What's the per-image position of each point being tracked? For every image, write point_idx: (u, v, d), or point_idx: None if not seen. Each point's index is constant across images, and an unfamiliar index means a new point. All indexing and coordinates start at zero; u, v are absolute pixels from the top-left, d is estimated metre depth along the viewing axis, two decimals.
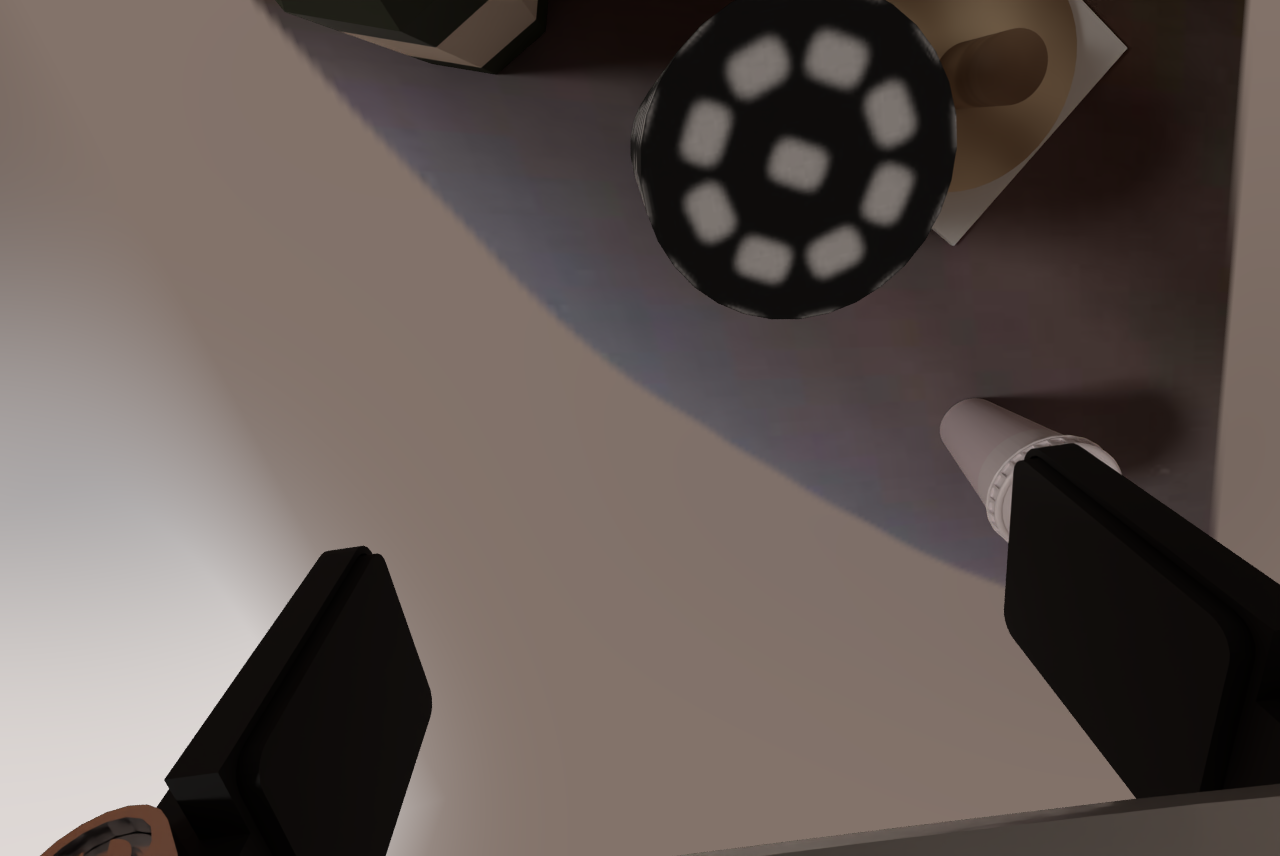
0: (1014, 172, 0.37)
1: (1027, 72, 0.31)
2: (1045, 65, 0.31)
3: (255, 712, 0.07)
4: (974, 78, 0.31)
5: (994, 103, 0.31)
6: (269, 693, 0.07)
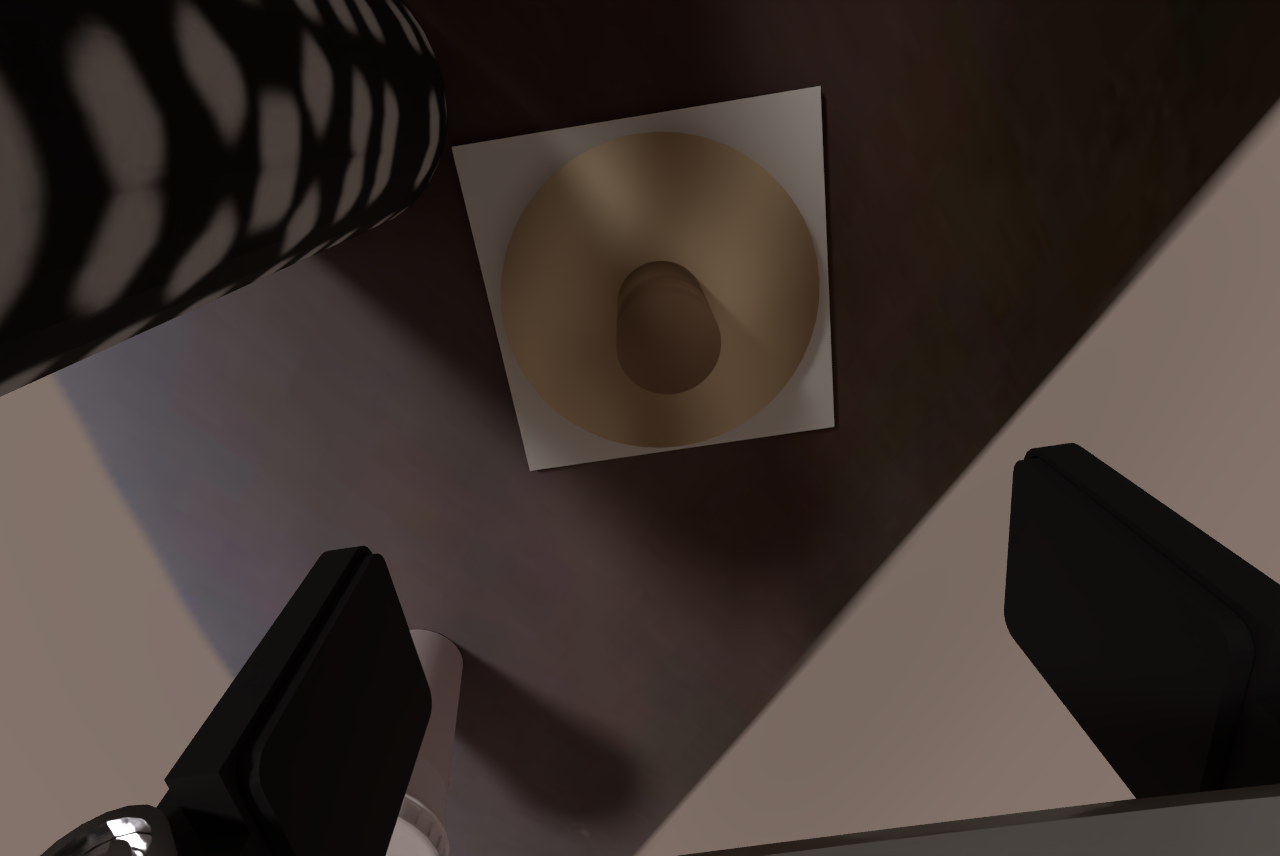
0: (645, 450, 0.27)
1: (679, 365, 0.20)
2: (705, 376, 0.21)
3: (257, 712, 0.07)
4: (622, 316, 0.20)
5: None
6: (269, 693, 0.07)
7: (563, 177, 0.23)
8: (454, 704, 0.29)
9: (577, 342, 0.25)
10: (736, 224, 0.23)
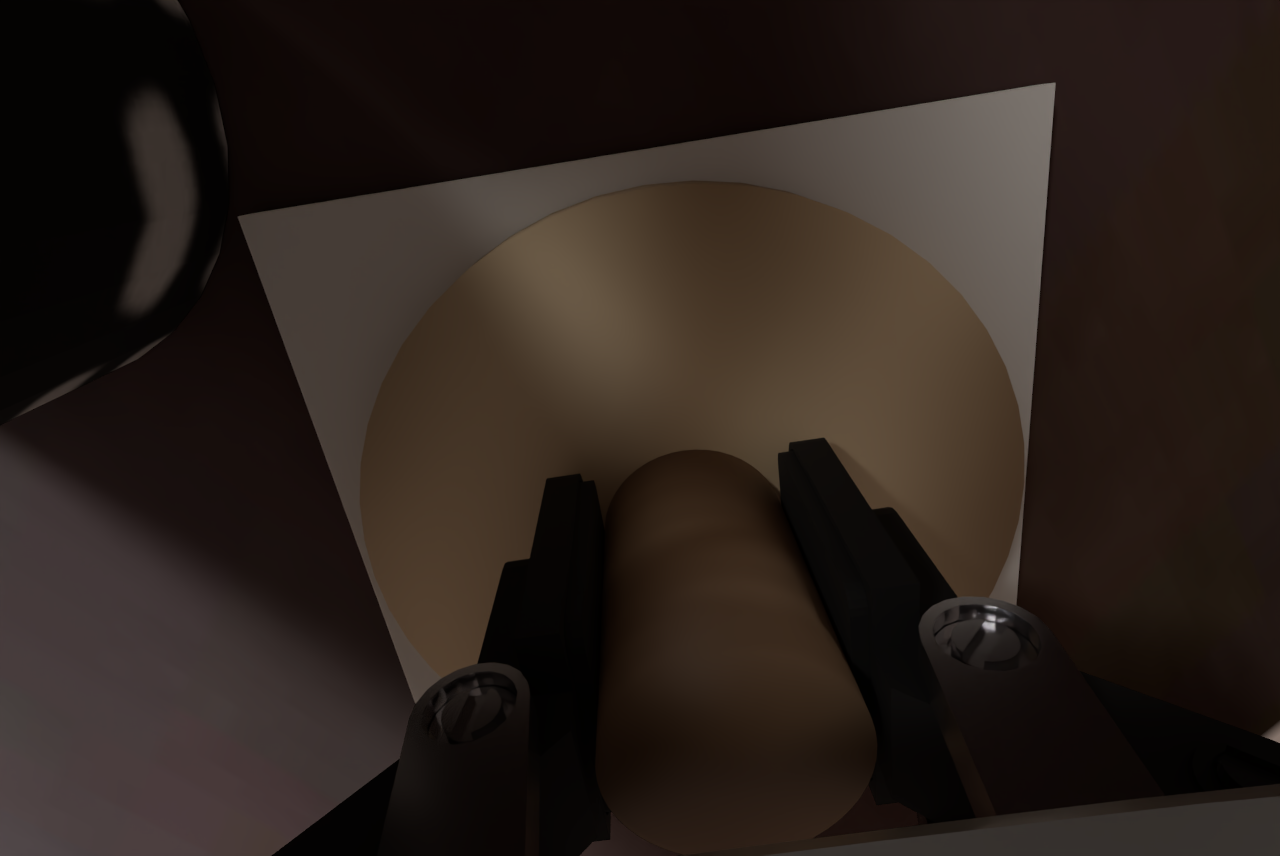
0: None
1: (764, 804, 0.08)
2: (827, 817, 0.08)
3: (564, 591, 0.08)
4: (612, 685, 0.07)
5: None
6: (565, 579, 0.08)
7: (482, 284, 0.10)
8: None
9: None
10: (859, 377, 0.11)
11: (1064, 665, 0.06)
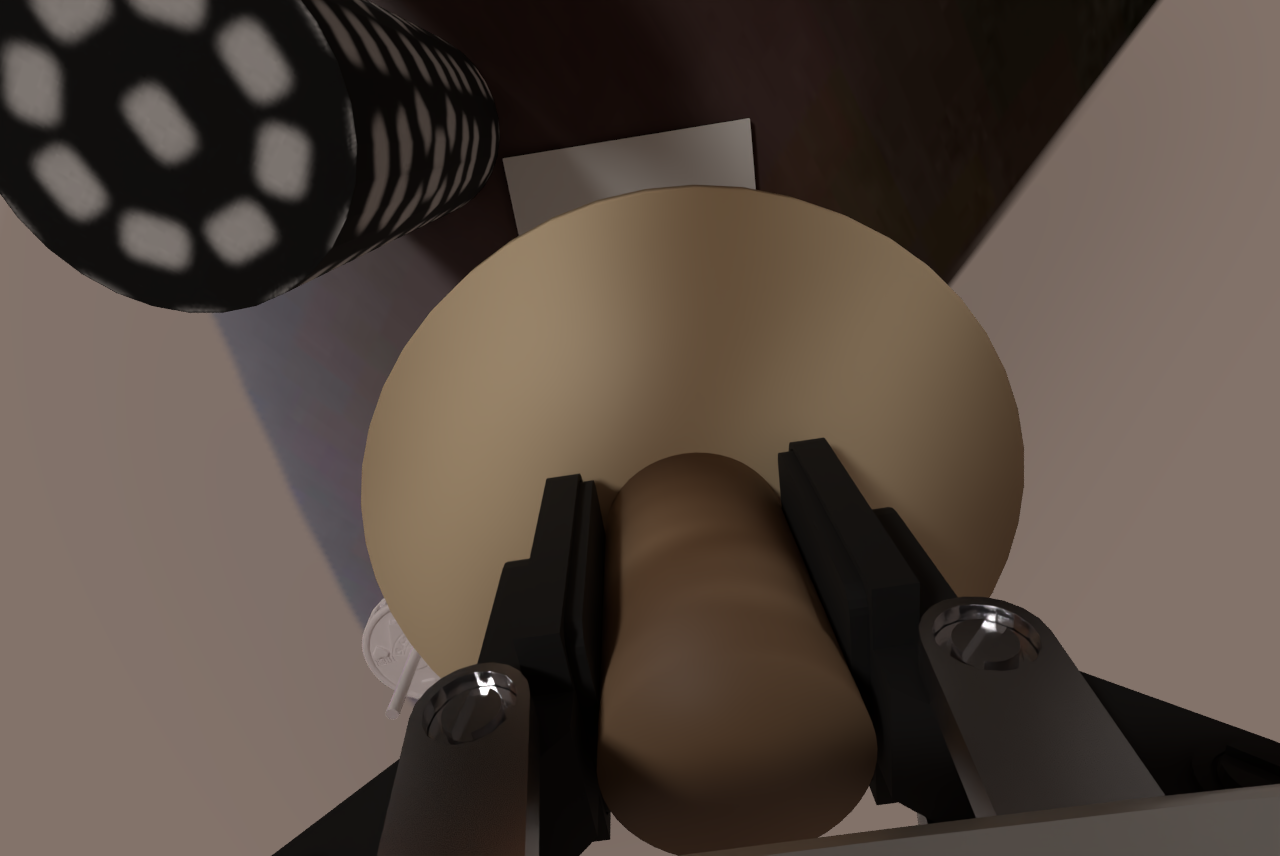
0: None
1: (764, 807, 0.08)
2: (828, 819, 0.08)
3: (564, 591, 0.08)
4: (613, 690, 0.08)
5: (613, 803, 0.08)
6: (565, 579, 0.08)
7: (483, 288, 0.10)
8: None
9: None
10: (859, 381, 0.11)
11: (1064, 665, 0.06)
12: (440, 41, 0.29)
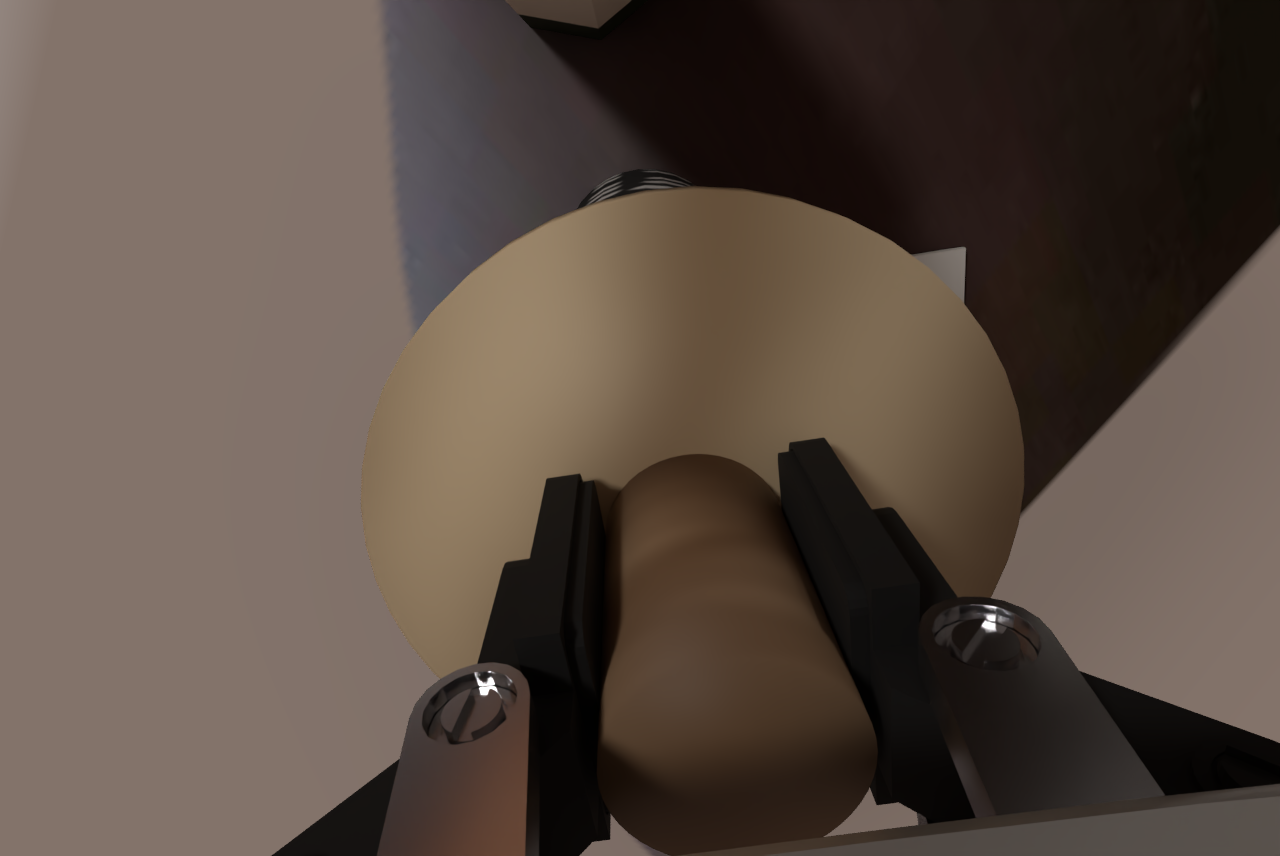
0: None
1: (765, 809, 0.08)
2: (828, 821, 0.08)
3: (563, 591, 0.08)
4: (614, 691, 0.08)
5: (613, 806, 0.08)
6: (565, 579, 0.08)
7: (483, 289, 0.10)
8: None
9: None
10: (859, 382, 0.11)
11: (1064, 665, 0.06)
12: None
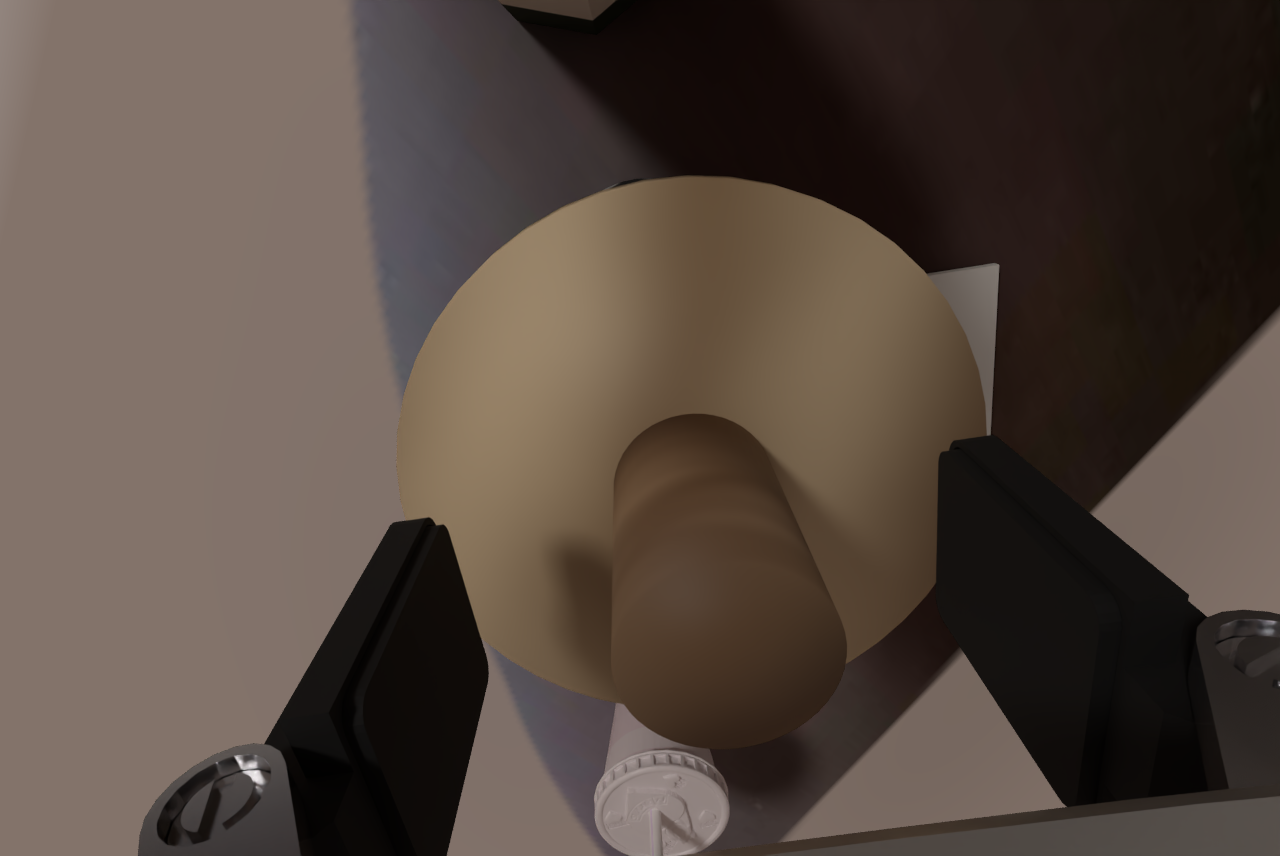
0: None
1: (753, 698, 0.09)
2: (808, 711, 0.09)
3: (355, 661, 0.07)
4: (625, 598, 0.09)
5: None
6: (363, 646, 0.08)
7: (503, 269, 0.12)
8: None
9: (543, 552, 0.14)
10: (836, 346, 0.12)
11: None
12: None
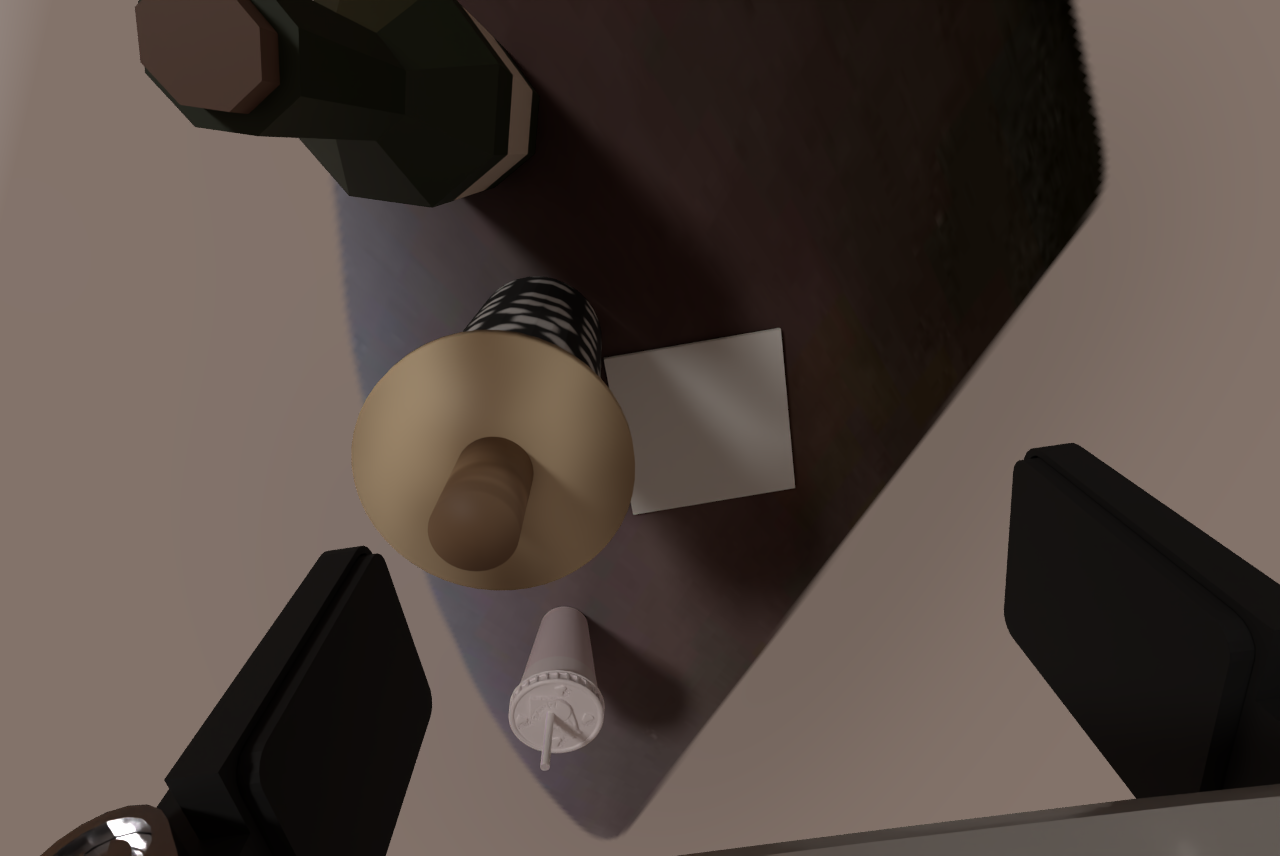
0: (695, 502, 0.51)
1: (486, 548, 0.23)
2: (511, 555, 0.24)
3: (255, 711, 0.07)
4: (433, 509, 0.23)
5: (436, 550, 0.24)
6: (269, 693, 0.07)
7: (397, 374, 0.26)
8: (590, 645, 0.53)
9: (425, 506, 0.28)
10: (552, 404, 0.27)
11: None
12: (574, 303, 0.42)
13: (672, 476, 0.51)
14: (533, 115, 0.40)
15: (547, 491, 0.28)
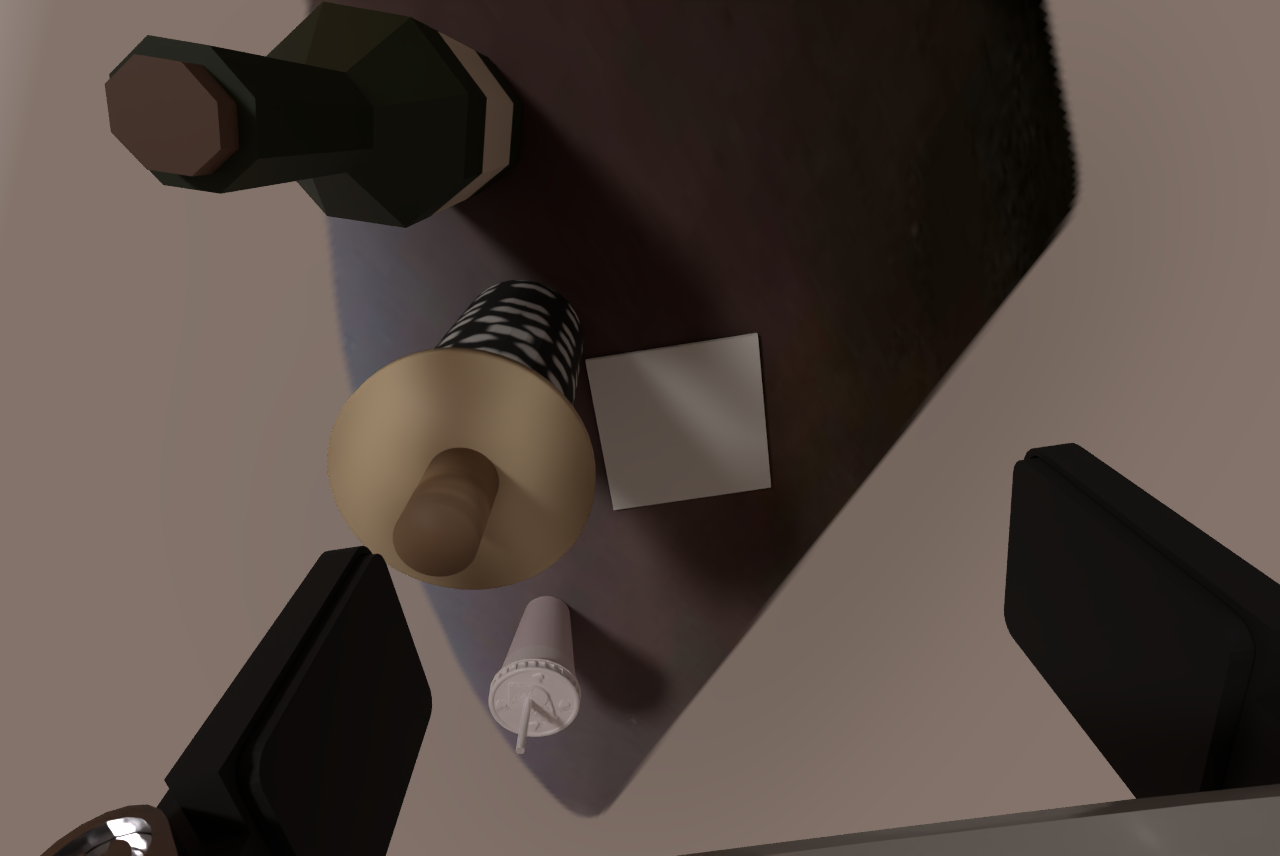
0: (673, 499, 0.53)
1: (447, 555, 0.25)
2: (471, 562, 0.25)
3: (255, 712, 0.07)
4: (398, 518, 0.25)
5: None
6: (269, 693, 0.07)
7: (369, 388, 0.28)
8: (571, 634, 0.55)
9: (397, 510, 0.30)
10: (516, 418, 0.28)
11: None
12: (554, 308, 0.43)
13: (651, 473, 0.52)
14: (515, 126, 0.41)
15: (512, 499, 0.30)
